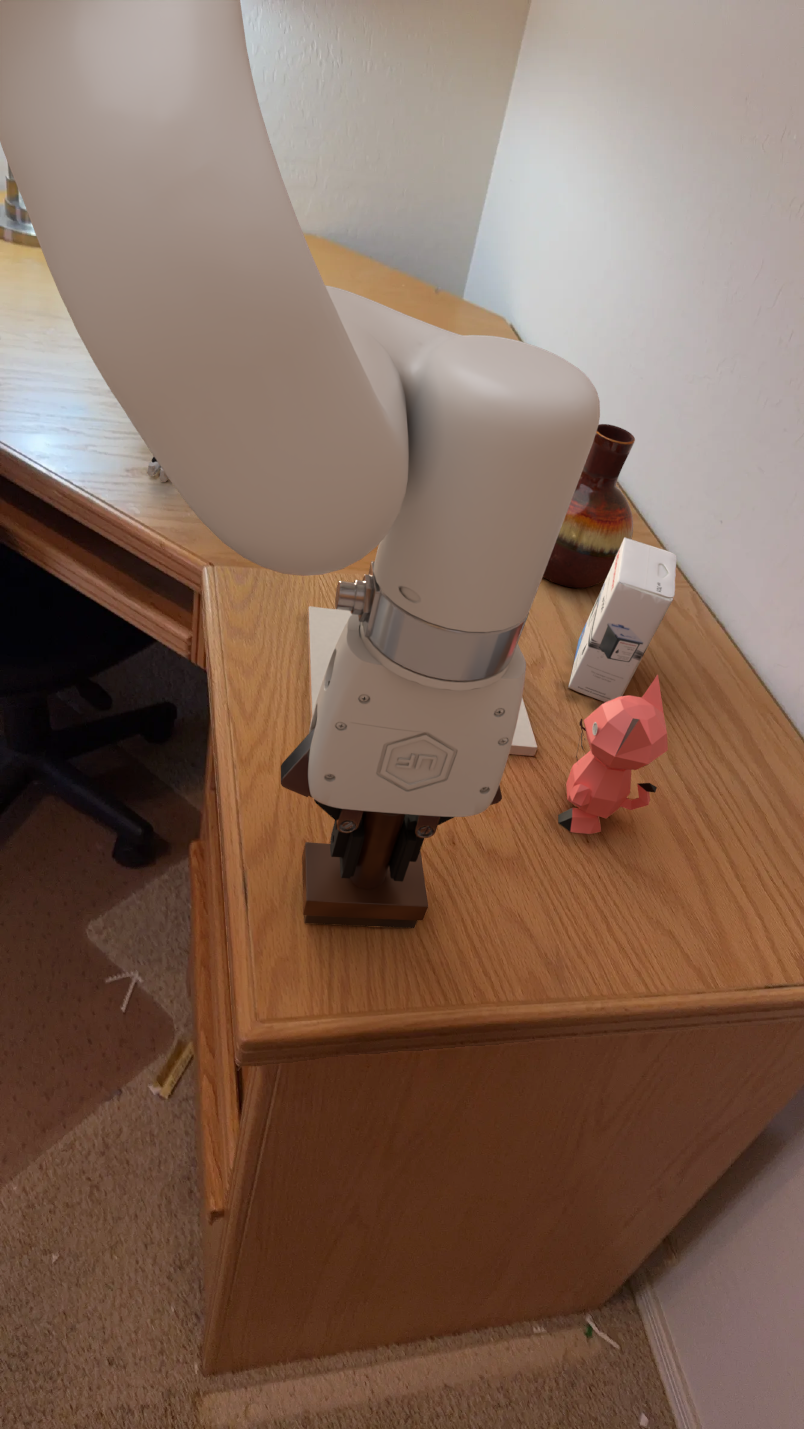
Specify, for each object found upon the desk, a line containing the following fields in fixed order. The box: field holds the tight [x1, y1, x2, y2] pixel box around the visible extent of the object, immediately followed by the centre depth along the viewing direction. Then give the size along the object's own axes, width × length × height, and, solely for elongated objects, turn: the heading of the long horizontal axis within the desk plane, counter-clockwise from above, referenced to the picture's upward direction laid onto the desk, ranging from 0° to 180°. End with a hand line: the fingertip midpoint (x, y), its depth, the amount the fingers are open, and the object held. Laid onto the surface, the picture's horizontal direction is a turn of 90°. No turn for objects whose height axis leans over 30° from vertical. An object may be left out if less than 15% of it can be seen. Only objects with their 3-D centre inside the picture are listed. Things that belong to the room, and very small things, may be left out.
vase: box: [542, 423, 636, 589], centre depth 90 cm, size 11×11×15 cm
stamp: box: [301, 811, 429, 929], centre depth 53 cm, size 8×4×10 cm, turn 96°
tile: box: [306, 605, 538, 757], centre depth 74 cm, size 18×16×1 cm
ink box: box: [568, 538, 678, 703], centre depth 77 cm, size 9×5×12 cm, turn 164°
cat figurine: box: [557, 674, 669, 835], centre depth 63 cm, size 7×7×12 cm
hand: (370, 859), depth 53 cm, fingers closed on stamp, 2 cm apart
